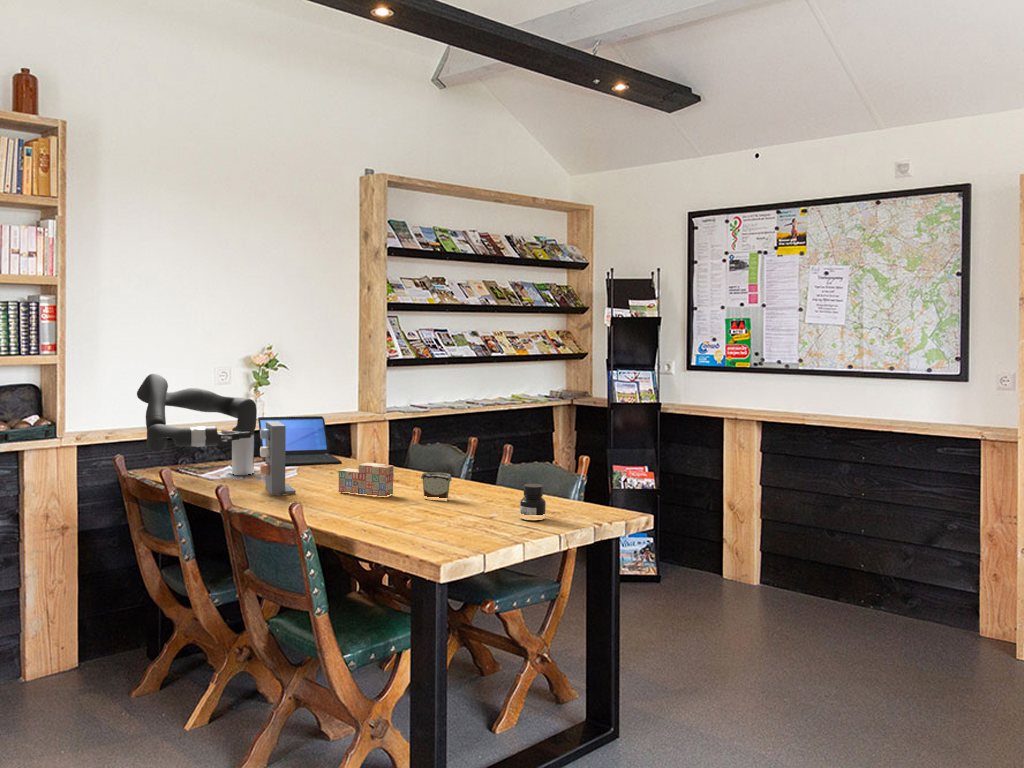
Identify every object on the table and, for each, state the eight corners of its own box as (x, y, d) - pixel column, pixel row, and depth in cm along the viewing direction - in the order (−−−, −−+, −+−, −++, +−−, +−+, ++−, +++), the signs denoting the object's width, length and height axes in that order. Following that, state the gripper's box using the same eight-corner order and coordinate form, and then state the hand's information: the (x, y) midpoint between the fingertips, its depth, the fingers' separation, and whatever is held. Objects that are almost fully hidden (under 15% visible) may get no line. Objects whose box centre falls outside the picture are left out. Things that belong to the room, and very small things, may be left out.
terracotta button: (260, 473, 348) (260, 463, 348) (270, 473, 350) (270, 463, 349) (261, 475, 344) (261, 465, 344) (272, 475, 346) (272, 465, 346)
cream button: (260, 456, 348) (260, 446, 347) (270, 455, 349) (270, 445, 349) (261, 457, 344) (261, 447, 344) (272, 457, 346) (272, 447, 345)
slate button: (260, 438, 347) (260, 428, 347) (270, 438, 349) (270, 428, 349) (261, 439, 344) (261, 429, 343) (272, 439, 345) (272, 429, 345)
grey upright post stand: (265, 488, 355) (265, 421, 353) (288, 487, 359) (288, 420, 357) (271, 495, 341) (272, 426, 339) (295, 494, 344) (296, 425, 343)
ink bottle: (514, 517, 313) (515, 484, 312) (534, 515, 318) (535, 482, 317) (530, 523, 305) (531, 488, 304) (550, 520, 310) (551, 486, 309)
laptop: (271, 468, 406) (271, 426, 404) (257, 455, 439) (257, 417, 438) (342, 464, 420) (343, 424, 419) (323, 453, 454) (324, 415, 452)
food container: (456, 499, 343) (456, 473, 343) (450, 502, 337) (450, 476, 337) (427, 496, 347) (427, 471, 347) (420, 499, 342) (421, 473, 341)
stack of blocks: (338, 493, 349) (338, 462, 348) (346, 490, 355) (346, 460, 354) (385, 498, 341) (386, 467, 341) (393, 496, 347) (394, 464, 346)
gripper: (202, 443, 342) (248, 442, 350) (205, 448, 330) (253, 446, 337) (201, 424, 342) (248, 423, 349) (205, 428, 330) (253, 427, 337)
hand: (250, 434), depth 343 cm, fingers closed
